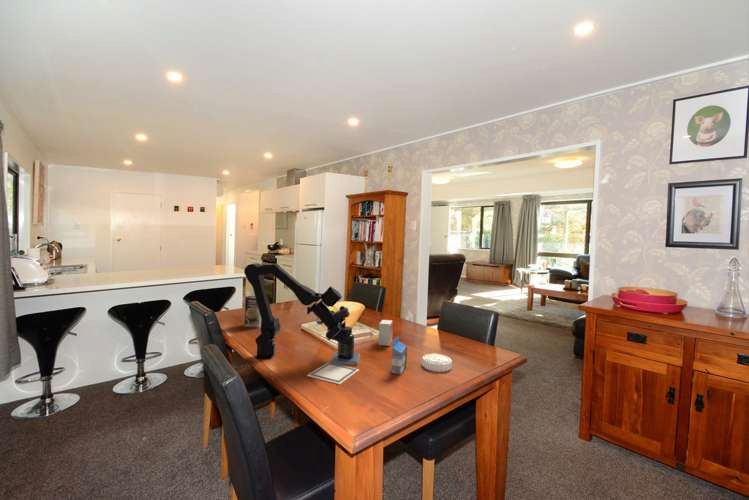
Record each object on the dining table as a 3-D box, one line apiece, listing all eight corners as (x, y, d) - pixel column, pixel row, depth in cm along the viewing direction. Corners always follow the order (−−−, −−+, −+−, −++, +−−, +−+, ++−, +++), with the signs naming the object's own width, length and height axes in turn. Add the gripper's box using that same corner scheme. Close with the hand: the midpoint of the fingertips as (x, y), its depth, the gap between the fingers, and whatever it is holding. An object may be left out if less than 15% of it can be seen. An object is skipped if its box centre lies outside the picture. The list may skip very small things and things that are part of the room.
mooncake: (429, 373, 126) (429, 364, 126) (417, 361, 137) (417, 353, 137) (457, 371, 129) (457, 362, 129) (443, 359, 141) (443, 351, 140)
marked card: (307, 375, 119) (307, 374, 119) (328, 363, 132) (328, 361, 132) (339, 384, 113) (339, 383, 113) (359, 370, 126) (359, 369, 126)
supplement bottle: (341, 352, 141) (342, 325, 140) (356, 354, 139) (357, 326, 138) (334, 358, 134) (335, 329, 134) (350, 360, 132) (351, 331, 132)
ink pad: (330, 364, 131) (330, 360, 131) (334, 354, 142) (335, 351, 142) (358, 365, 131) (358, 362, 131) (360, 355, 142) (360, 352, 142)
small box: (389, 346, 155) (390, 324, 154) (378, 345, 156) (379, 323, 156) (392, 341, 163) (393, 320, 162) (381, 340, 164) (382, 319, 163)
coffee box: (244, 326, 179) (244, 297, 179) (250, 323, 186) (250, 295, 185) (259, 328, 178) (260, 298, 177) (265, 324, 184) (265, 296, 183)
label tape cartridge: (400, 375, 123) (401, 342, 122) (390, 373, 124) (391, 341, 124) (406, 366, 131) (407, 336, 131) (397, 365, 132) (398, 335, 132)
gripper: (334, 306, 126) (362, 335, 126) (341, 297, 145) (365, 322, 145) (314, 325, 127) (341, 354, 127) (323, 314, 145) (347, 339, 145)
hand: (350, 341), depth 136 cm, fingers closed on supplement bottle, 7 cm apart
